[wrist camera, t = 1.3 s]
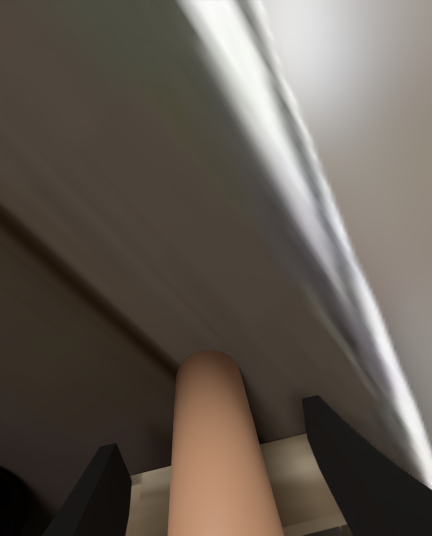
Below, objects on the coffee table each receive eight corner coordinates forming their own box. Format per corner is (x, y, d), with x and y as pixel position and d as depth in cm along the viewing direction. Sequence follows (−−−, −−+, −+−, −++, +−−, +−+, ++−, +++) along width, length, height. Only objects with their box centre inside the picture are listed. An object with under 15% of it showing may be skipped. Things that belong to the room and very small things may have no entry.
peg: (245, 396, 15) (322, 689, 6) (184, 410, 15) (180, 726, 6) (234, 344, 14) (308, 608, 5) (168, 358, 14) (140, 652, 5)
